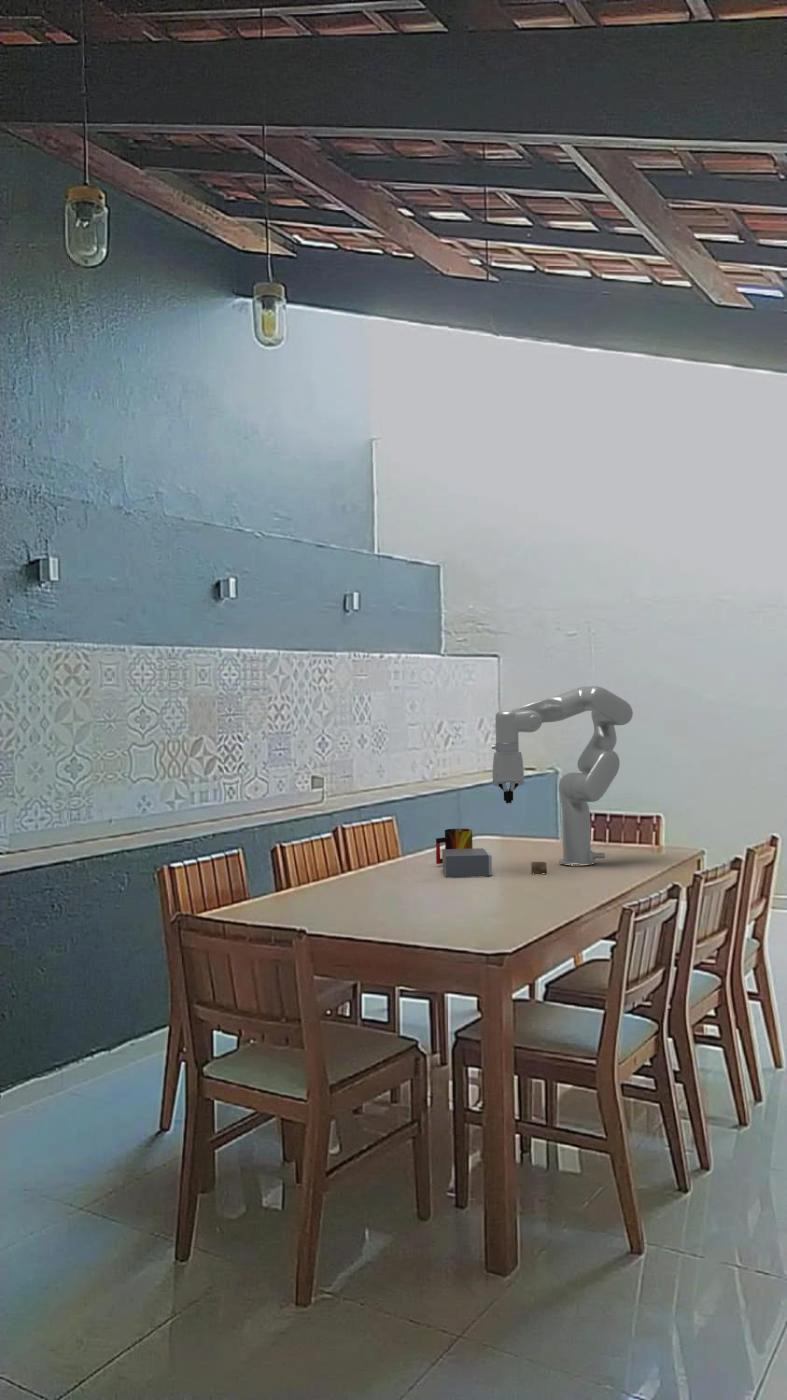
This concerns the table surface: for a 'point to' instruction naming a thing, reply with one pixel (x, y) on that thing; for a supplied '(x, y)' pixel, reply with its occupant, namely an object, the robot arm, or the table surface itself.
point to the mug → (454, 841)
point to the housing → (465, 862)
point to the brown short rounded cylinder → (539, 867)
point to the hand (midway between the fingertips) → (508, 802)
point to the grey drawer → (489, 862)
